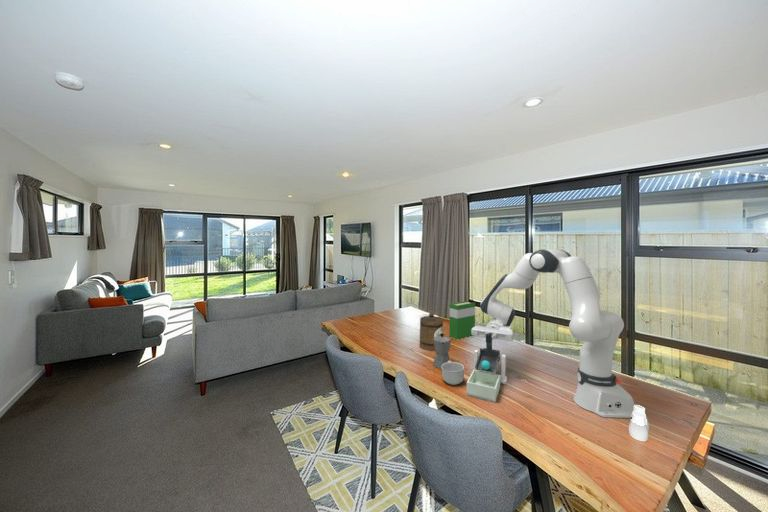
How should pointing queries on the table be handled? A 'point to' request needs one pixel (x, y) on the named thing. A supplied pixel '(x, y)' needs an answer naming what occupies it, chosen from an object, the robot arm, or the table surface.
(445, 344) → the coffeepot
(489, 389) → the bin
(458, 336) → the cereal box
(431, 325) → the wooden container
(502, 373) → the lever frame
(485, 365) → the ball
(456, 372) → the teacup
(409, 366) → the table surface
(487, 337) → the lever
